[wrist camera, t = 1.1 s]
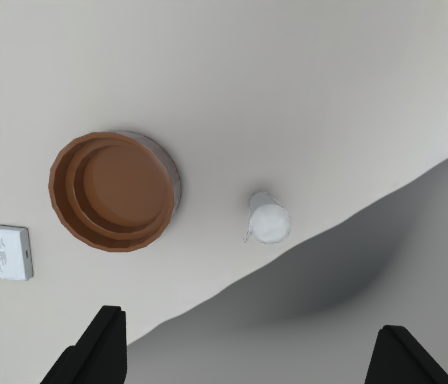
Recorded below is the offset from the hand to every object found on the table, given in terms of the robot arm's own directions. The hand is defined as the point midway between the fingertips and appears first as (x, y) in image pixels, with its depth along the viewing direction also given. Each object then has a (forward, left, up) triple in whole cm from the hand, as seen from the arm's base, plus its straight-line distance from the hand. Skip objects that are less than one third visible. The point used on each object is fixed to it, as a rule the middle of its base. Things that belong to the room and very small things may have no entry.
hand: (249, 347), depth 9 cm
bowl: (0, -15, -26) cm, 30 cm away
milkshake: (+3, +3, -26) cm, 26 cm away
